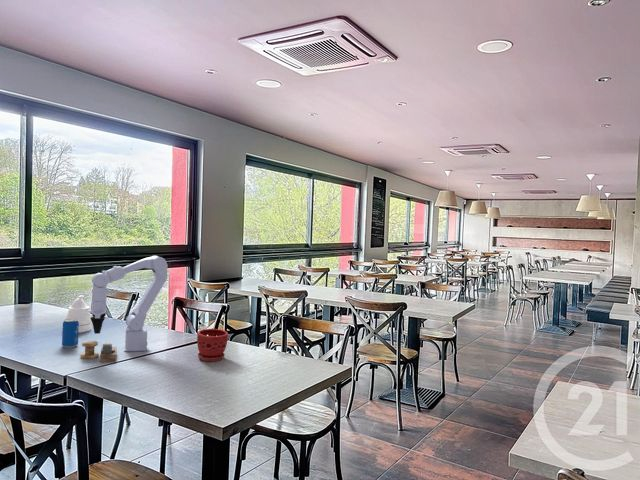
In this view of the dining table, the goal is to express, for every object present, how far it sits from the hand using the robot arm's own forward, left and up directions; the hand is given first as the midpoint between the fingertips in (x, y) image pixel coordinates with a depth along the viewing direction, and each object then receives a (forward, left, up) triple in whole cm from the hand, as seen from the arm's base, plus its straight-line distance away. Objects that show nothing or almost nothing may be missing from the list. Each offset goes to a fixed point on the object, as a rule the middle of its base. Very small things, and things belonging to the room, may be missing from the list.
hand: (97, 331), depth 208 cm
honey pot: (+12, -46, -10) cm, 49 cm away
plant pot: (-47, +18, -10) cm, 51 cm away
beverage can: (+12, -13, -10) cm, 20 cm away
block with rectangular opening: (-5, +9, -9) cm, 14 cm away
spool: (+2, +6, -9) cm, 11 cm away
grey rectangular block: (-5, +11, -9) cm, 15 cm away
